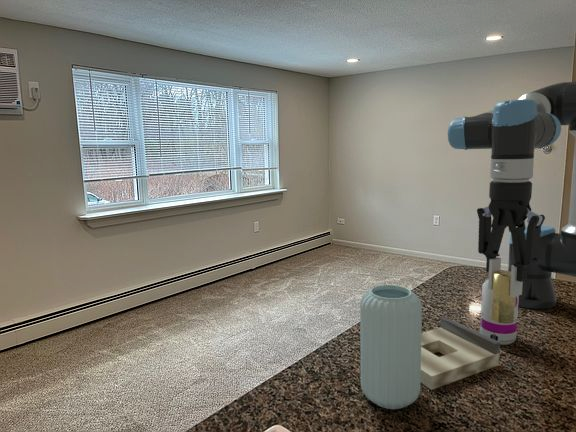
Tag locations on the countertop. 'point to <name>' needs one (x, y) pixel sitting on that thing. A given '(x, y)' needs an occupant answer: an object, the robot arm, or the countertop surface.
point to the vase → (390, 346)
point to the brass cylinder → (502, 298)
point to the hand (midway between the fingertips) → (504, 291)
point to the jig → (455, 353)
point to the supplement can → (490, 327)
